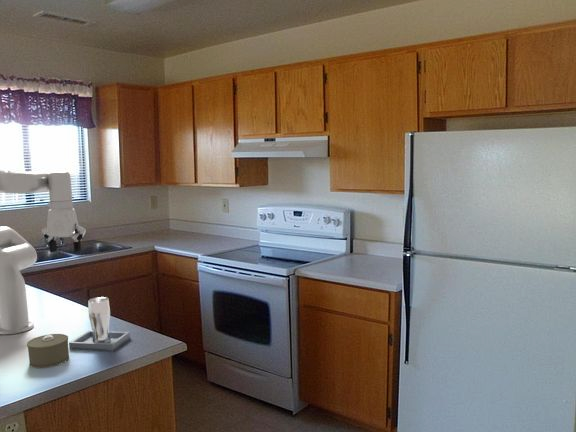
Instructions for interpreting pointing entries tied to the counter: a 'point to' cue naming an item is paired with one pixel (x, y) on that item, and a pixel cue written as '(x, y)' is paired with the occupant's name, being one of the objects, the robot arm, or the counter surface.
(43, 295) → the counter surface
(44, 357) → the can
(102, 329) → the beer glass
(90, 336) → the tray
